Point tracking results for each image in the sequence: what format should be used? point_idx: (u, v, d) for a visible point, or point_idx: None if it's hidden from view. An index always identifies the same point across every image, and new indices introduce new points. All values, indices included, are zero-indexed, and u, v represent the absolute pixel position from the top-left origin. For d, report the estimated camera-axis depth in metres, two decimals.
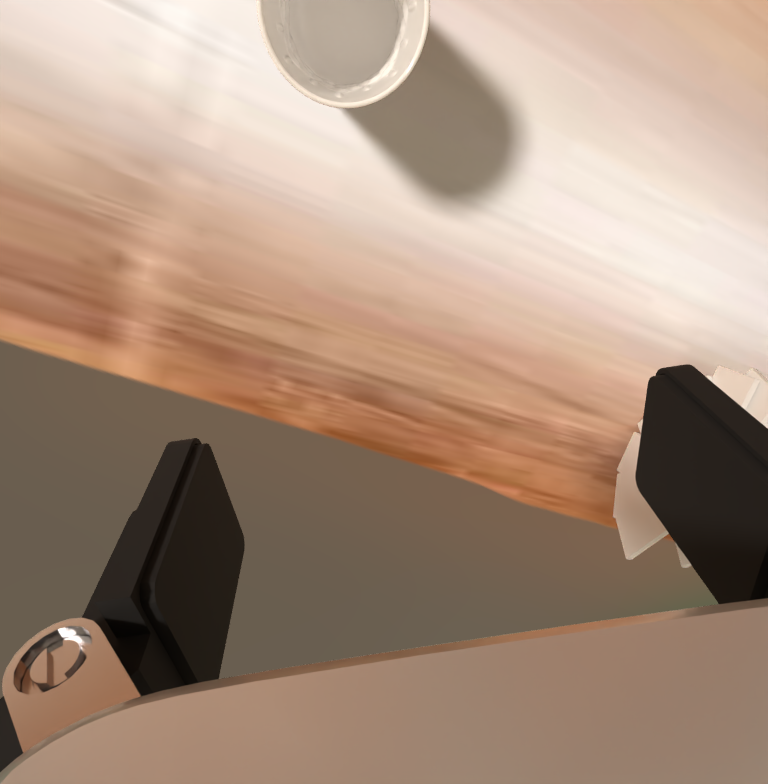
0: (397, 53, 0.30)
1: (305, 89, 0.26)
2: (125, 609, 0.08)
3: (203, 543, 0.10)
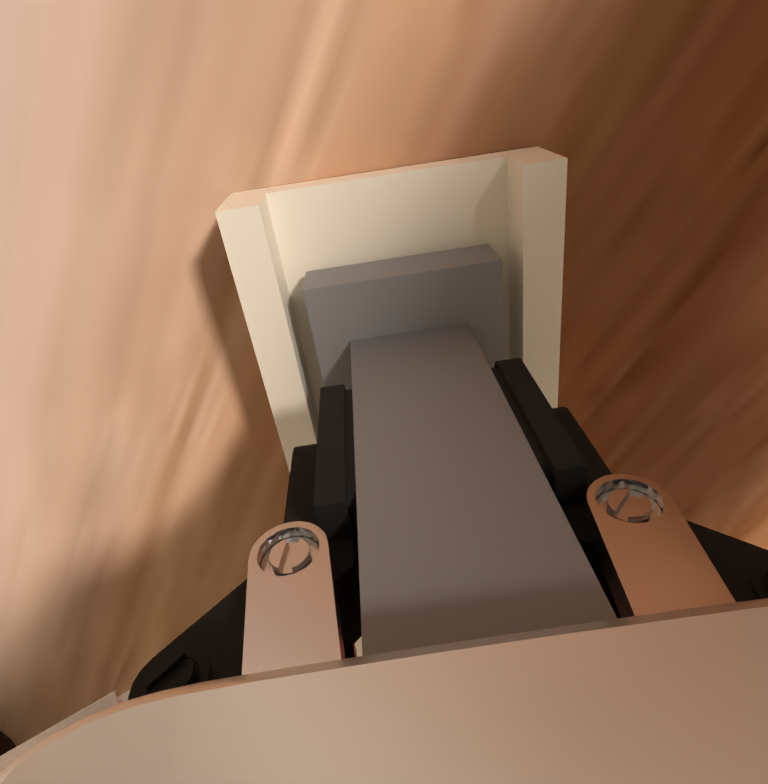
0: None
1: None
2: (337, 513, 0.09)
3: None
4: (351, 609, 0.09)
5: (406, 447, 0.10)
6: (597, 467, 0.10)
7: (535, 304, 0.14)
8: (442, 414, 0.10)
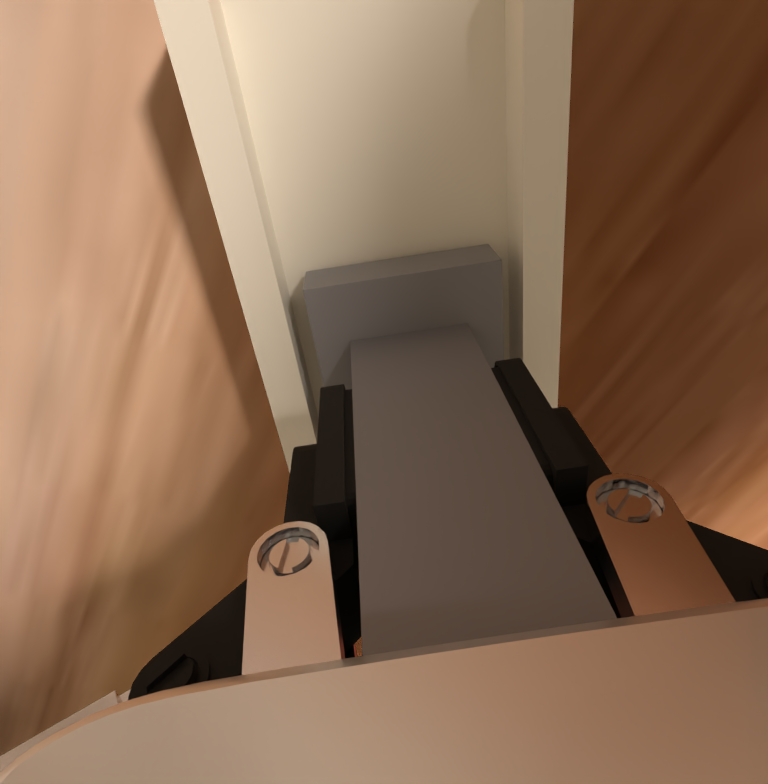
0: None
1: None
2: (337, 513, 0.09)
3: None
4: (351, 609, 0.09)
5: (406, 447, 0.10)
6: (597, 467, 0.10)
7: (537, 137, 0.12)
8: (443, 415, 0.10)
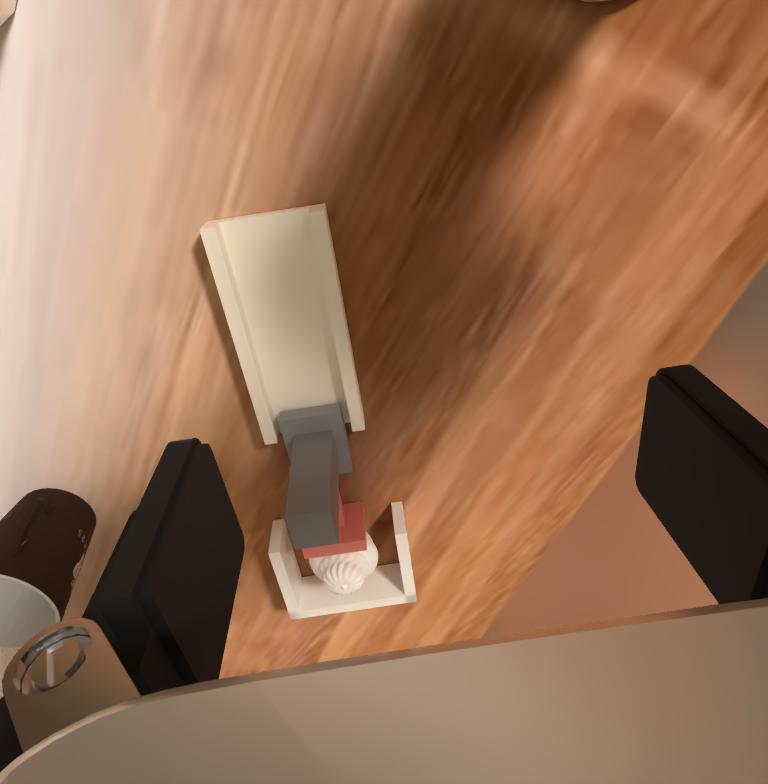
0: None
1: None
2: (125, 609, 0.08)
3: (203, 543, 0.10)
4: None
5: (302, 472, 0.38)
6: None
7: (324, 264, 0.36)
8: (313, 463, 0.39)
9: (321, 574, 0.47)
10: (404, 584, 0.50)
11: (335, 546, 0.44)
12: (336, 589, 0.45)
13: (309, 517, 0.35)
